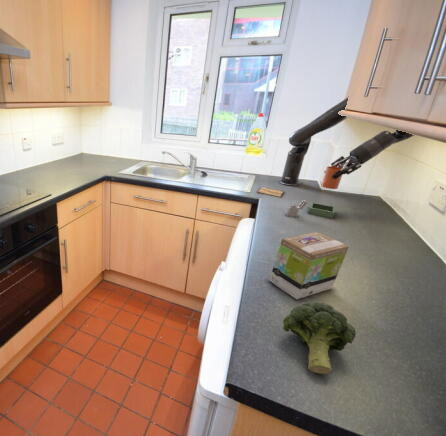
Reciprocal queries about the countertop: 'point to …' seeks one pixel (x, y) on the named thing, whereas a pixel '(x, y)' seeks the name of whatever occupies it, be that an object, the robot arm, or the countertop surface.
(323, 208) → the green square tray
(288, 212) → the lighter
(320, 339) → the vegetable
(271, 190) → the coaster
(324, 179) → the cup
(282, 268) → the tea box
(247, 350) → the countertop surface
